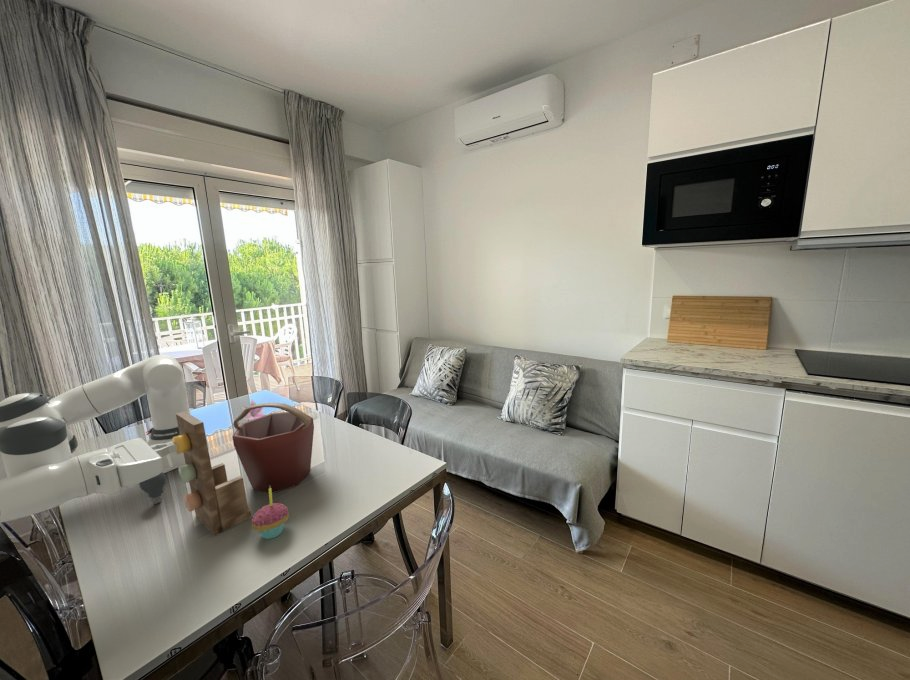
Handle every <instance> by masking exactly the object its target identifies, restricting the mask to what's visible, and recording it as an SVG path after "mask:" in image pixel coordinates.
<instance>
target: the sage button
mask: <svg viewBox="0 0 910 680" xmlns="http://www.w3.org/2000/svg"><path fill="white" fill-rule="evenodd" d="M177 470H178V474H179V477H180V480H181V482H182V483H183V484H186V483H189V481H192V480H194V479H196V471H195V468H194V466H193V464H192V463H188V464H185V465H182V466H180V467H179V468H177Z"/></svg>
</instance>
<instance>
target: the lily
mask: <svg viewBox="0 0 910 680" xmlns="http://www.w3.org/2000/svg"><path fill="white" fill-rule="evenodd" d="M254 405H257V403H256V402H255V400H253V399H250V404H249V406H246V405H245V406H242V405H241V408H242V409H243V411H244V410H245V409H246V408H248V407H250V406H254ZM263 411H264V407H262V408H256V409H252V410H250V412H249V413H248V414H247V415H246V416H245V417H244V420H246V421H247V422H248V421H250V420H253V419H256V418H259V417H262V416H265V415H266V414H264V413H263Z"/></svg>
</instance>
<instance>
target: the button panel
mask: <svg viewBox="0 0 910 680" xmlns="http://www.w3.org/2000/svg"><path fill="white" fill-rule="evenodd" d="M176 418H177V423H178V428H179V433H180V435H182V434H185V433H186V434H187V436H188V438H189V440H190V444H191V450H189V451H186V452H183V453H184V458H185V463H186V464H188V463H192V464H193V466H194V468H195V471H196V479H194V480H192V481H189V482H188V484H189V488H190V489H189V490H190V493H192V492H194V491H197V492H198V493H199V495H200V497H201V501H202V507H200V508H198V509H195V510H194V513H195V517H196V518H197V519H198V520H199V521H200V522H201V523H202V524H203V525H204V526H205V527H206V528H207V530H208V531H209V532H210V533H212V535H213V536H214V537H215V536H218V535H219V534H220V535H221V534H222V533H224V532H225V531H227V530H229V529H232V528H233V527H236V526H238V525H239V524H241V523H242V522H245V521H246V520H249V519H252V518H253V516H252V511H251V509H249V506H248V499H247V494H246V493H247V492H246V489H245V488H246V486H245V483H244V481H245V480H244V477H243V476H241V475H239V476H237V477H235V478H233V479H230V480H228V476H227V470H226V465H225V464H224V463H223V462H221V463H219V464H216V465H214V466H213V465H212V463H211V457H210V452H209V445H208V441H207V435H206V430H205V425H204V424H205V423H204V422H203V421H202V420H200V419H199V418H197V417H195V416H194V415H191V413H190V414H188V413H187V412H185V411H184V412H180V413H176Z"/></svg>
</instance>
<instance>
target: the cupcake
mask: <svg viewBox="0 0 910 680" xmlns="http://www.w3.org/2000/svg"><path fill="white" fill-rule="evenodd" d="M268 497H269V498H268V499H269V504H267V505H263V506H262V507H260V508H258V510H257V511H255V513H254V514H253V516H252V517H251V526H252V527H251V528H252V530H254V531H257V532H259V534H260V535H261V537H262V538H263V539H266V540H270V539H274V538H276V537H278V536H279V535H281V534H282V532H283V531H284V526H285V523H286V521H287V520H288V519H289V516H290V515H289V514H290V513H289V510H288V509H289V507H287V506H286V505H285V504H283V503H280V502H273V493H272V489H271V488H270V489H269V493H268Z"/></svg>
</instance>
